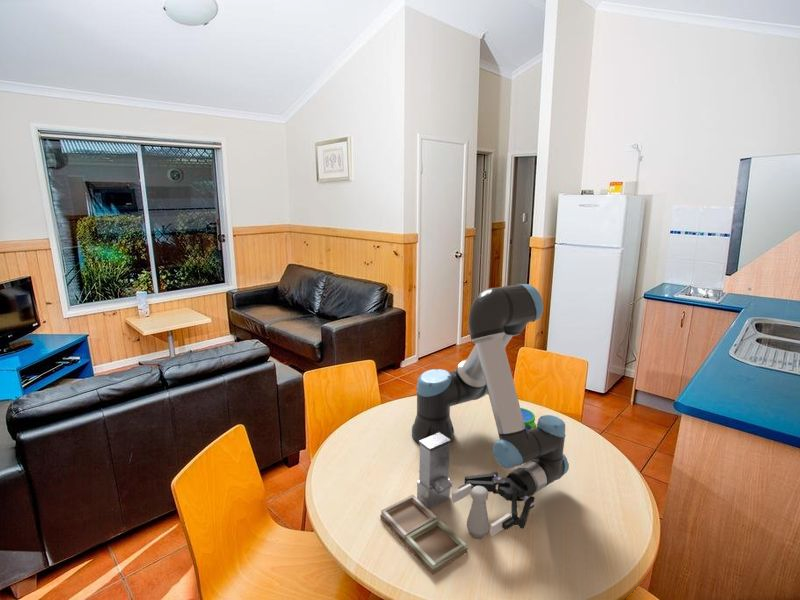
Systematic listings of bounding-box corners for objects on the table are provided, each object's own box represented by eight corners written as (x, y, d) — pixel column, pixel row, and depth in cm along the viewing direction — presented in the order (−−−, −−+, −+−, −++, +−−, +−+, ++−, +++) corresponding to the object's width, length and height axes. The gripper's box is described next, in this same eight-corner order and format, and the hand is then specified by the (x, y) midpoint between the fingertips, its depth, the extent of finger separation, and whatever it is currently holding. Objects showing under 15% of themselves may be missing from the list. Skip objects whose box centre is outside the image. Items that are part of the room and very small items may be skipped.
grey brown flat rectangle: (380, 517, 118) (380, 510, 118) (412, 501, 125) (412, 494, 124) (432, 574, 101) (432, 566, 101) (467, 552, 107) (467, 544, 107)
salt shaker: (488, 543, 110) (491, 499, 107) (465, 539, 111) (467, 495, 108) (488, 526, 116) (491, 483, 112) (466, 522, 117) (468, 480, 113)
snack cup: (491, 433, 159) (493, 407, 156) (514, 426, 163) (516, 401, 161) (520, 456, 145) (522, 428, 143) (544, 448, 150) (547, 421, 147)
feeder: (417, 499, 125) (417, 440, 121) (438, 488, 130) (439, 431, 125) (433, 514, 120) (435, 454, 115) (455, 502, 124) (458, 443, 119)
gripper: (564, 519, 113) (509, 559, 101) (491, 469, 132) (438, 498, 120) (567, 494, 111) (511, 531, 99) (492, 447, 131) (438, 474, 119)
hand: (470, 513), depth 110 cm, fingers open, 13 cm apart
